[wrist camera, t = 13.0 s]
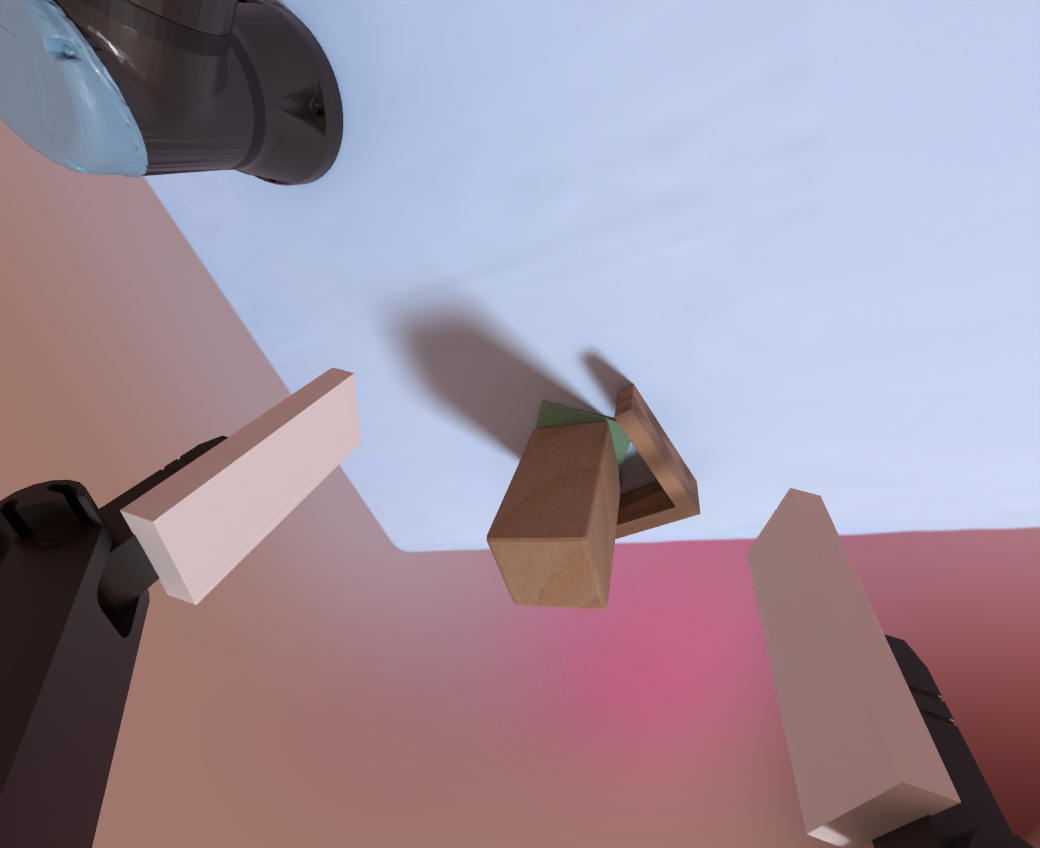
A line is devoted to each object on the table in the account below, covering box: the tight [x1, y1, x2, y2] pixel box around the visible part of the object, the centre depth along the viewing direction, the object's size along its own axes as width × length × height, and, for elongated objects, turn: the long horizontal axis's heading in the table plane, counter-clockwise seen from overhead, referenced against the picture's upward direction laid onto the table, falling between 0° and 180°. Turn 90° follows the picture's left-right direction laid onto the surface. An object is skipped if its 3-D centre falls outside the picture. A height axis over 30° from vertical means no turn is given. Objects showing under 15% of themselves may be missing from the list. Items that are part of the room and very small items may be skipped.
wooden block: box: [487, 421, 622, 609], centre depth 49 cm, size 10×10×20 cm
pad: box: [537, 401, 631, 472], centre depth 57 cm, size 12×12×1 cm
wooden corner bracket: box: [615, 384, 700, 539], centre depth 56 cm, size 16×20×6 cm
